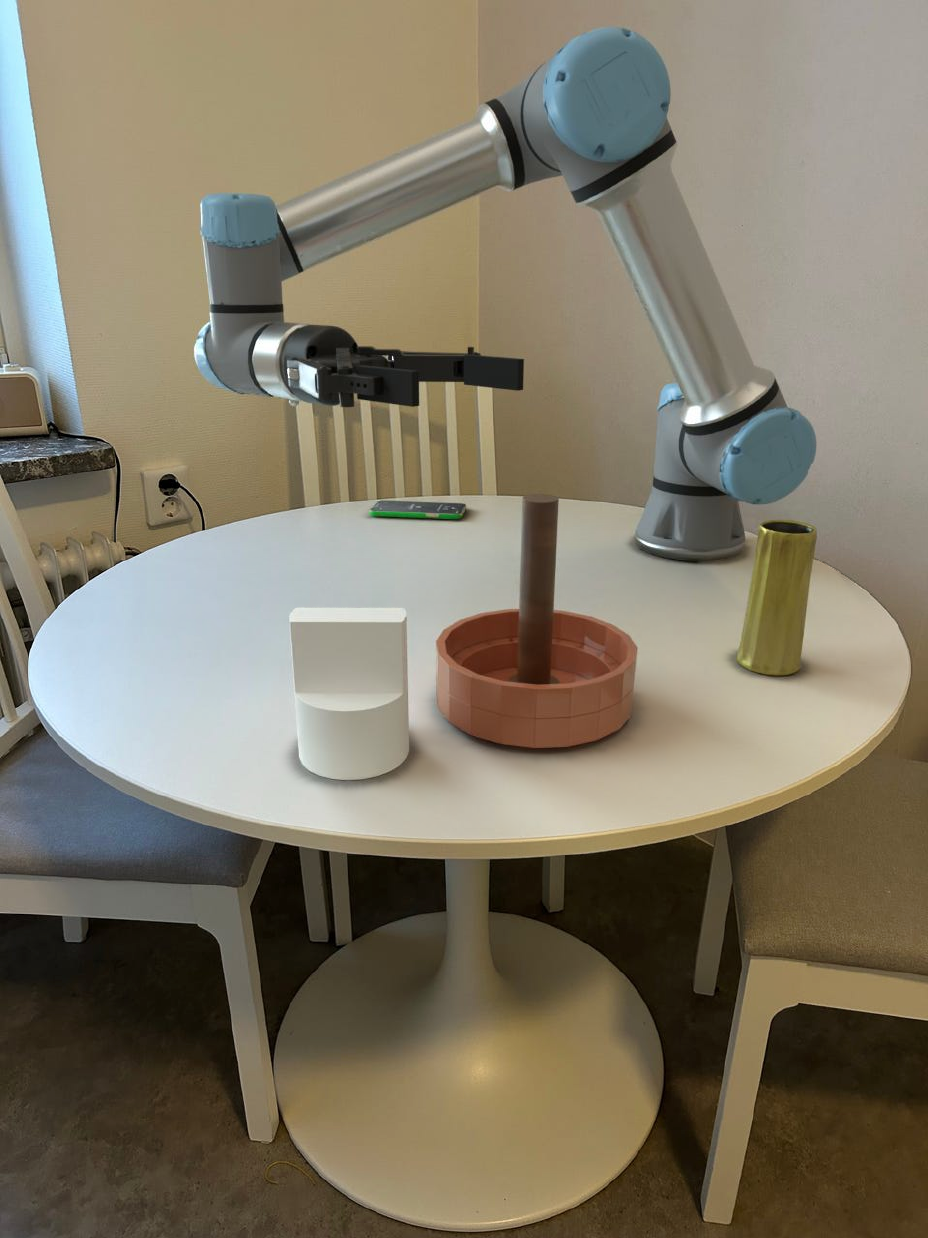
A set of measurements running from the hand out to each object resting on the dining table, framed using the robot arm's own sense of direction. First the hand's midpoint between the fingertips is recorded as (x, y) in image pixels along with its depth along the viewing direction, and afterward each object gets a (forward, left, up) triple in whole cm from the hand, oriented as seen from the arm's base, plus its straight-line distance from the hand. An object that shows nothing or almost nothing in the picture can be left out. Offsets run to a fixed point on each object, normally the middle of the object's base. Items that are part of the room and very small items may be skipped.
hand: (472, 381), depth 74 cm
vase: (-30, -1, -28) cm, 41 cm away
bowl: (-5, +6, -28) cm, 29 cm away
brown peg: (-5, +6, -27) cm, 28 cm away
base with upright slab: (+11, +13, -28) cm, 33 cm away
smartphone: (+3, -62, -28) cm, 69 cm away
